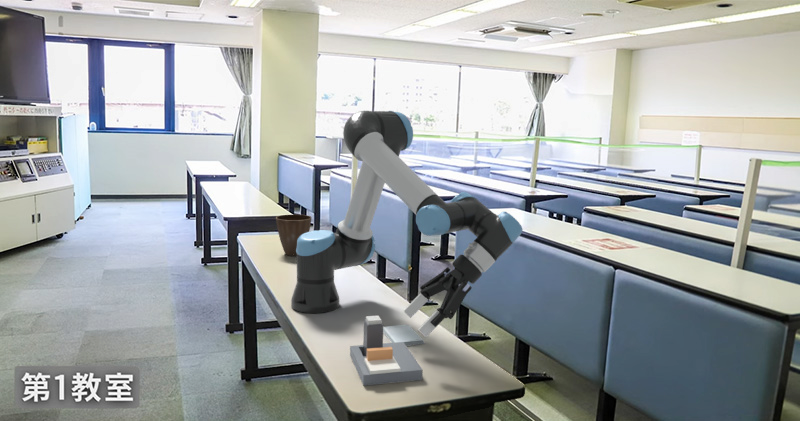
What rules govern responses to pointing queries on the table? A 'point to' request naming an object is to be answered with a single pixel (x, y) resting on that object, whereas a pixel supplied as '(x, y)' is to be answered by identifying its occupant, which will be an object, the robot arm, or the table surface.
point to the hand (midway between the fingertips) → (413, 323)
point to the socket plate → (407, 372)
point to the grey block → (372, 333)
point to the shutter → (381, 360)
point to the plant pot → (292, 231)
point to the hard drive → (402, 335)
